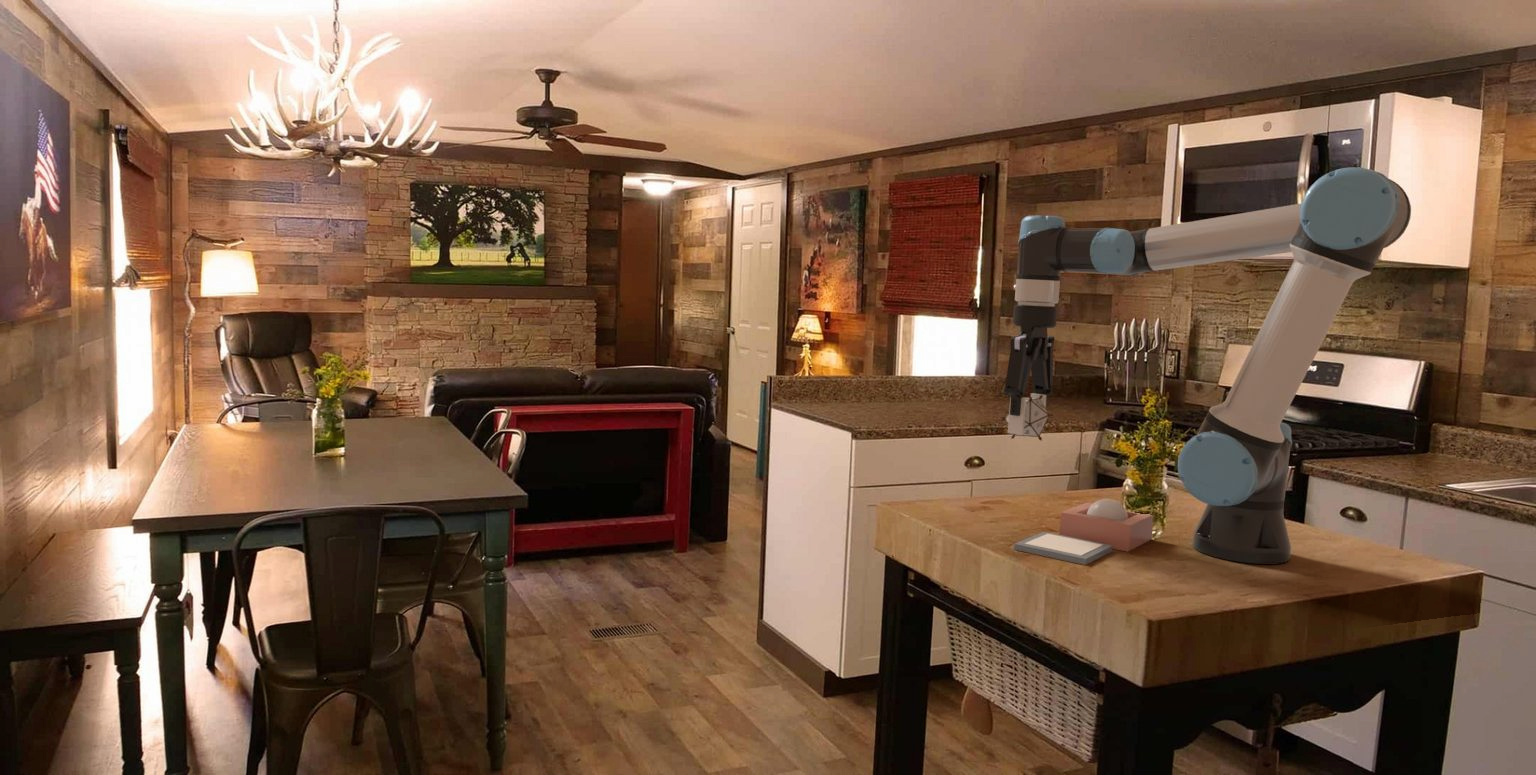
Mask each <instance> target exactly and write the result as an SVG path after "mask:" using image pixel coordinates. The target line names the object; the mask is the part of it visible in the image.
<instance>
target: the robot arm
mask: <svg viewBox="0 0 1536 775" xmlns="http://www.w3.org/2000/svg"><path fill="white" fill-rule="evenodd" d="M1411 215H1412V206H1411V201H1410V199H1409V196H1408V194H1407V193H1406V191H1405V190H1404V189H1403V187H1402V186H1401V185H1400V184H1398V183H1397V182H1396V181H1394V180H1392V179H1390V178H1389V177H1388V176H1386V175H1385V174H1383V173H1381V172H1379V171H1376V170H1374V169H1371V168H1365V167H1361V166H1359V167H1358V166H1357V167H1356V166H1355V167H1353V166H1351V167H1341V168H1339V169H1335V170H1333V171H1332V170H1331V171H1330V172H1328V173H1326V174H1324V175H1322V176H1321V177H1319V178H1318V179H1317V180H1315V182H1314V183H1313V184H1311V185H1310V186H1309V188H1308V189H1307V191H1306V192H1305V194H1304V196H1303V199H1302V201H1301V203H1295V204H1290V205H1283V206H1278V207H1273V208H1272V207H1271V208H1266V209H1260V210H1253V211H1247V212H1242V213H1236V214H1230V215H1224V216H1217V217H1211V218H1207V219H1206V218H1205V219H1199V220H1194V221H1188V222H1183V223H1176V224H1170V225H1169V224H1168V225H1162V226H1158V227H1152V228H1146V229H1145V228H1144V229H1139V230H1133V231H1129V230H1127V229H1124V228H1123V229H1122V228H1113V227H1104V228H1103V227H1101V228H1097V227H1096V228H1094V227H1093V228H1072V227H1066V224H1065V219H1064V218H1063V217H1061V216H1057V215H1040V214H1039V215H1038V214H1037V215H1027V216H1025V217H1023V218H1022V220H1021V222H1020V229H1019V236H1018V240H1017V244H1018V250H1017V264H1016V265H1017V267H1016V268H1017V269H1016V277H1015V278H1016V279H1015V284H1014V285H1013V289H1014V291H1015V293H1014V294H1015V295H1014V301H1015V302H1017V304H1015V305H1014V306H1013V315H1012V324H1013V325H1014V326H1017V327H1020V330H1019V334H1018V336H1017V337H1016V336H1011V338H1010V349H1009V350H1010V351H1009V358H1008V364H1007V365H1008V366H1007V371H1006V379H1005V385H1004V396H1005V397H1009V406H1008V407H1009V409H1008V411H1009V420H1008V423H1007V434H1011V435H1013V434H1018V435H1024V424H1025V411H1026V399H1027V398H1023V397H1025V394H1026V391H1027V390H1026V389H1027V386H1028V383H1029V378H1030V374H1031V380H1032V388H1033V392H1032V393H1030V397H1032V398H1039V397H1040V395H1042V398H1041V401H1042V403H1043V405H1044V406H1045V408H1046V407H1047V405H1046V404H1047V395H1051V396H1052V395H1053V388H1054V386H1053V384H1054V383H1053V382H1054V380H1053V379H1054V378H1053V377H1054V374H1053V373H1054V372H1053V371H1054V346H1055V336H1050V335H1048V328H1049V329H1054V328H1056V326H1057V321H1058V308H1057V306H1056V305H1055V304H1058V303H1059V299H1060V298H1059V296H1060V287H1061V284H1060V283H1061V274H1062V272H1065V273H1066V272H1071V273H1084V274H1085V273H1087V274H1091V273H1092V274H1103V275H1116V276H1121V277H1135V276H1138V275H1141V274H1143V273H1148V272H1149V273H1151V272H1156V271H1163V270H1168V269H1178V268H1184V267H1192V266H1200V265H1206V264H1214V263H1221V262H1227V261H1235V260H1244V259H1251V258H1258V257H1265V256H1273V255H1281V254H1287V253H1288V254H1289V253H1292V256H1293V262H1292V263H1291V266H1290V267H1289V269H1288V272H1287V273H1286V276H1285V278H1284V280H1283V281H1282V284H1281V286H1280V288H1279V290H1278V292H1277V293H1276V294H1277V295H1276V297H1275V298H1274V301H1273V303H1272V305H1271V306H1270V309H1269V311H1268V313H1267V315H1266V317H1265V319H1264V320H1263V323H1262V325H1261V326H1260V329H1259V330H1258V333H1257V335H1256V336H1255V339H1254V341H1253V343H1252V345H1251V347H1250V349H1249V352H1248V353H1247V356H1246V357H1245V360H1244V361H1243V363H1242V365H1241V368H1240V370H1239V372H1238V374H1237V376H1236V378H1235V380H1234V382H1233V383H1232V386H1231V388H1230V389H1229V392H1228V394H1227V396H1226V398H1225V401H1223V402H1222V403H1219V404H1217V405H1213V406H1211V407H1209V409H1208V411H1207V414H1206V415H1205V417H1204V420H1203V421H1202V423H1201V426H1200V427H1199V429H1198V431H1197V434H1196V435H1194V436H1192V437H1191V438H1190V439H1189V440H1187V441H1186V443H1185V444H1184V445H1183V447H1181V448H1182V449H1180V452H1179V455H1178V458H1177V473H1178V476H1179V478H1180V481H1181V483H1182V485H1183V487H1184V488H1185V489H1186V491H1187V492H1188V493H1189V494H1190V495H1191V496H1193V497H1194V498H1195V499H1197V500H1198V501H1200V502H1202V503H1204V504H1206V506H1205V509H1204V511H1203V512H1202V515H1201V518H1200V519H1199V521H1198V523H1197V525H1196V528H1195V530H1194V533H1193V538H1192V548H1194V549H1195V550H1196V551H1199V552H1200V553H1202V554H1206V555H1208V556H1212V557H1215V558H1218V559H1219V558H1220V559H1223V560H1228V561H1234V562H1238V563H1239V562H1240V563H1246V564H1254V565H1255V564H1257V565H1279V564H1278V563H1281V564H1284V563H1283V562H1285V563H1287V562H1286V561H1288V560H1289V559H1291V552H1292V547H1291V546H1292V545H1291V542H1290V538H1289V537H1290V536H1289V532H1288V529H1287V525H1286V520H1285V516H1284V506H1285V505H1284V504H1285V498H1286V489H1287V480H1288V472H1289V462H1290V452H1291V447H1292V444H1293V440H1292V428H1291V426H1290V425H1289V424H1287V423H1285V422H1283V419H1284V417H1285V416H1286V415H1287V412H1288V410H1289V408H1290V406H1291V404H1292V402H1293V400H1294V398H1295V397H1296V395H1297V392H1298V390H1299V388H1300V386H1301V384H1302V382H1303V381H1304V379H1305V377H1306V376H1307V373H1308V371H1309V369H1310V367H1311V365H1312V363H1313V362H1314V359H1315V358H1316V355H1317V353H1318V352H1319V350H1320V348H1321V345H1322V343H1323V342H1324V340H1325V338H1326V336H1327V334H1328V332H1329V330H1330V328H1331V326H1332V325H1333V322H1334V320H1335V318H1336V317H1337V316H1338V313H1339V310H1340V309H1341V307H1342V305H1343V303H1344V301H1345V299H1346V297H1347V295H1348V293H1349V291H1350V290H1351V287H1352V285H1353V283H1354V282H1355V281H1357V280H1358V279H1361V278H1363V277H1367V276H1369V275H1371V273H1372V272H1373V269H1374V267H1375V266H1376V264H1377V262H1378V260H1379V259H1380V256H1381V254H1382V253H1383V251H1384V249H1385V248H1388V247H1390V246H1391V245H1393V244H1394V243H1396V242H1397V241H1398V239H1400V238H1401V237H1402V235H1403V234H1404V233H1405V231H1406V230H1407V228H1408V226H1409V224H1410V220H1411ZM1046 409H1047V408H1046ZM1044 430H1045V427H1044V428H1043V430H1042V432H1043V431H1044ZM1289 561H1290V560H1289ZM1289 561H1288V562H1289Z"/></svg>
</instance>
